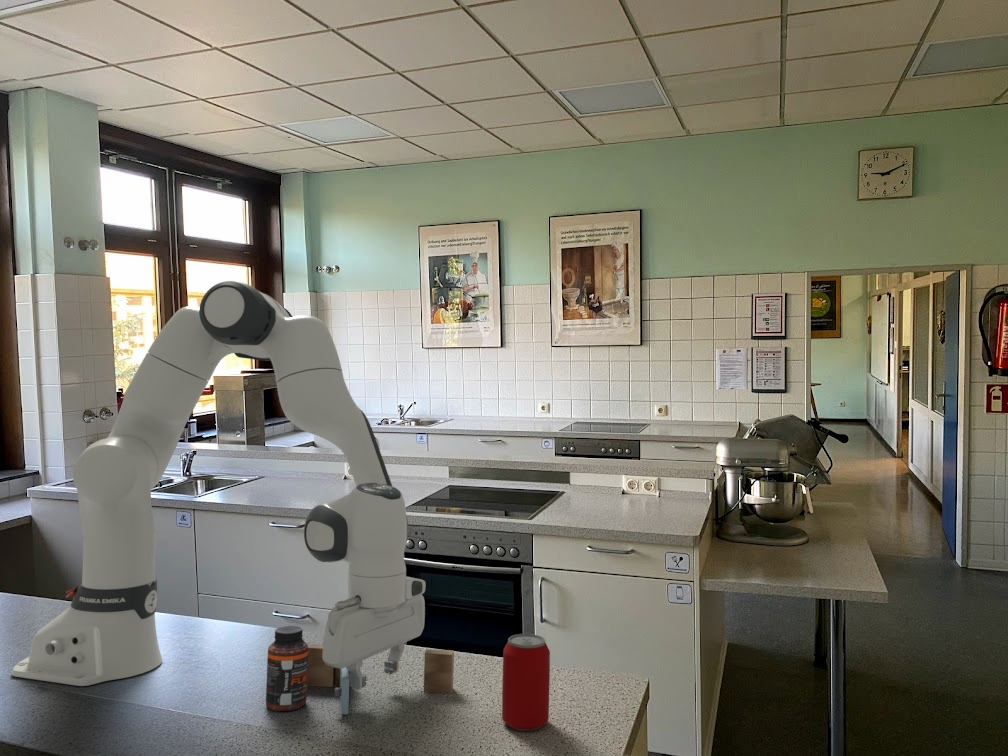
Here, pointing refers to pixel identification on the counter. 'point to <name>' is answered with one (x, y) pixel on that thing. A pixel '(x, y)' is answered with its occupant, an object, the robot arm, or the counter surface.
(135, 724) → the counter surface
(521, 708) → the beverage can
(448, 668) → the door frame
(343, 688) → the door
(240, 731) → the counter surface
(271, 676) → the supplement bottle
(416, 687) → the counter surface
